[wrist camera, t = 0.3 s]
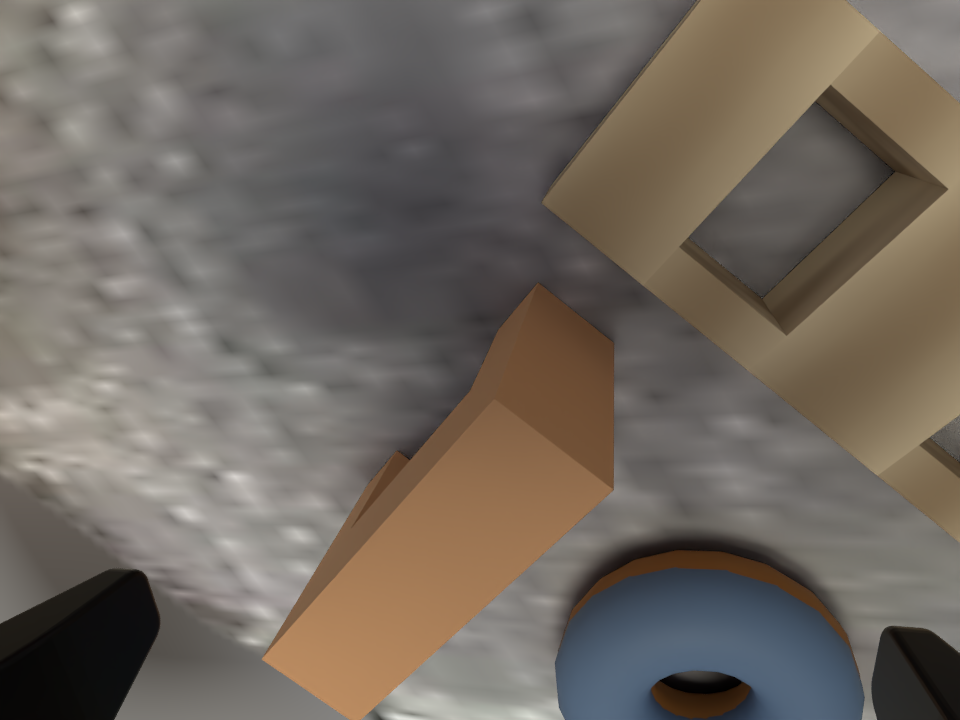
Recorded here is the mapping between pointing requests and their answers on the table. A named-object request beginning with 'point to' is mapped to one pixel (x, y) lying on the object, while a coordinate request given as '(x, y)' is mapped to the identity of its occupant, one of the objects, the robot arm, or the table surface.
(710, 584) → the doughnut
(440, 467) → the tan wooden block
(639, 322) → the table surface
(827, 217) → the table surface
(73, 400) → the table surface
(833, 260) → the rail
